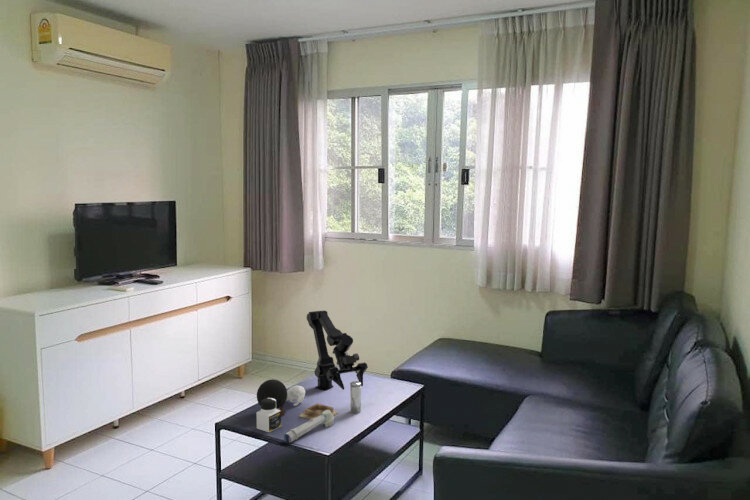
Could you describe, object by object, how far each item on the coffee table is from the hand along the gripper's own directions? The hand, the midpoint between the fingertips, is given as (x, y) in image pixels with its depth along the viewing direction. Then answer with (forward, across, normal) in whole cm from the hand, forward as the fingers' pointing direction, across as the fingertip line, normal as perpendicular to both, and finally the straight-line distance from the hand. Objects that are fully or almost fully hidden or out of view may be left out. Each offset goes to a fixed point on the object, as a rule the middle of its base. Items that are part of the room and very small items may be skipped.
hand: (353, 387), depth 240 cm
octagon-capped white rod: (+16, -26, -1) cm, 30 cm away
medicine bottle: (+8, -39, +7) cm, 40 cm away
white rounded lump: (-7, -21, +22) cm, 31 cm away
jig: (+6, -16, +8) cm, 19 cm away
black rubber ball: (-2, -33, +16) cm, 37 cm away
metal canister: (+9, 0, +6) cm, 10 cm away
